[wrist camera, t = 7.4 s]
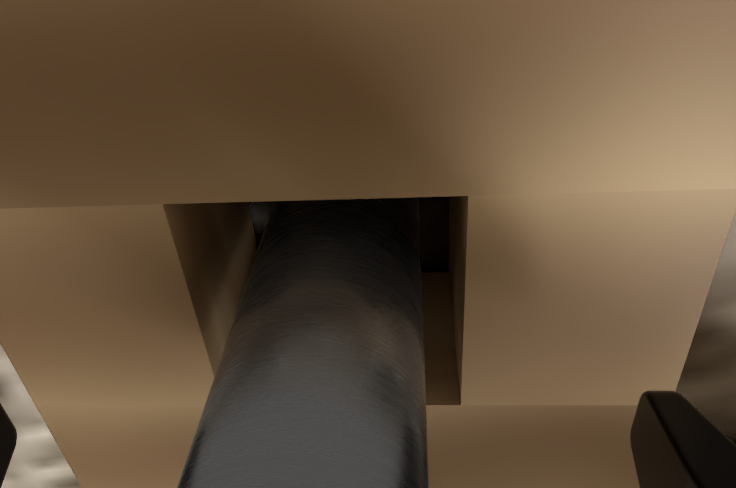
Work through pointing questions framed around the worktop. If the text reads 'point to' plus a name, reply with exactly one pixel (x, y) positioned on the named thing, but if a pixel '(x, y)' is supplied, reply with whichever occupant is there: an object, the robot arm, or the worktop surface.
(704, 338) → the worktop surface
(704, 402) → the worktop surface
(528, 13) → the socket block
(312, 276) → the pin
